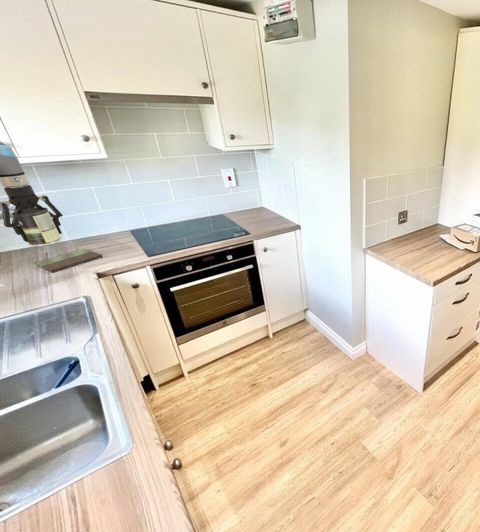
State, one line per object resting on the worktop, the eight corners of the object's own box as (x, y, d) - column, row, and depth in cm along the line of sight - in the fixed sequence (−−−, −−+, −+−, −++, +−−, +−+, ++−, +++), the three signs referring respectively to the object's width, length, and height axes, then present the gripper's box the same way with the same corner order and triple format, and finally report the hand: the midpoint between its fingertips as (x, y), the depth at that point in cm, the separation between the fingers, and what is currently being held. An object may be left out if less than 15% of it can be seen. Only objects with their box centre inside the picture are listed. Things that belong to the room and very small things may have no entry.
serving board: (52, 273, 151) (51, 270, 151) (36, 265, 157) (35, 262, 157) (102, 257, 168) (101, 254, 167) (86, 250, 174) (85, 248, 173)
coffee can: (30, 248, 134) (12, 216, 127) (28, 241, 140) (11, 210, 133) (63, 241, 141) (48, 210, 134) (60, 235, 147) (46, 205, 140)
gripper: (-22, 193, 119) (10, 248, 129) (57, 181, 137) (80, 230, 147) (-30, 190, 122) (2, 244, 132) (49, 179, 139) (72, 227, 150)
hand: (43, 237), depth 139 cm, fingers closed on coffee can, 10 cm apart
